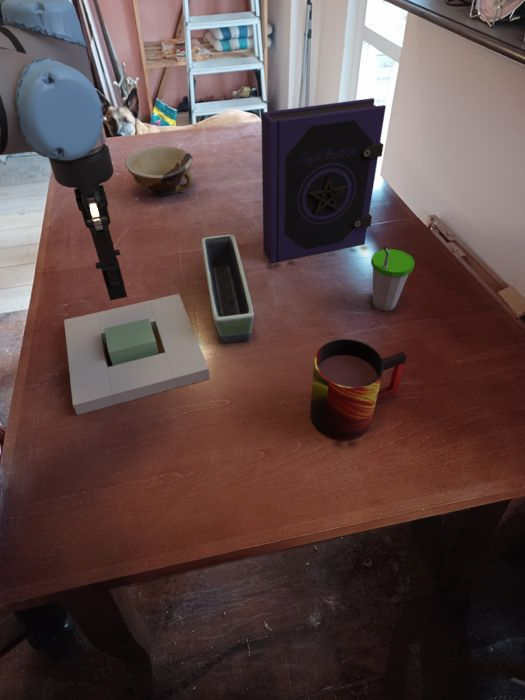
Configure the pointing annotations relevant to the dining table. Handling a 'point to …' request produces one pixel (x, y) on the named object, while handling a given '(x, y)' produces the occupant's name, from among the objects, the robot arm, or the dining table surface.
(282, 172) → the book
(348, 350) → the mug
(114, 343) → the green block
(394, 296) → the cup
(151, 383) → the base pad
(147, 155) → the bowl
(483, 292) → the dining table surface
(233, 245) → the planter
